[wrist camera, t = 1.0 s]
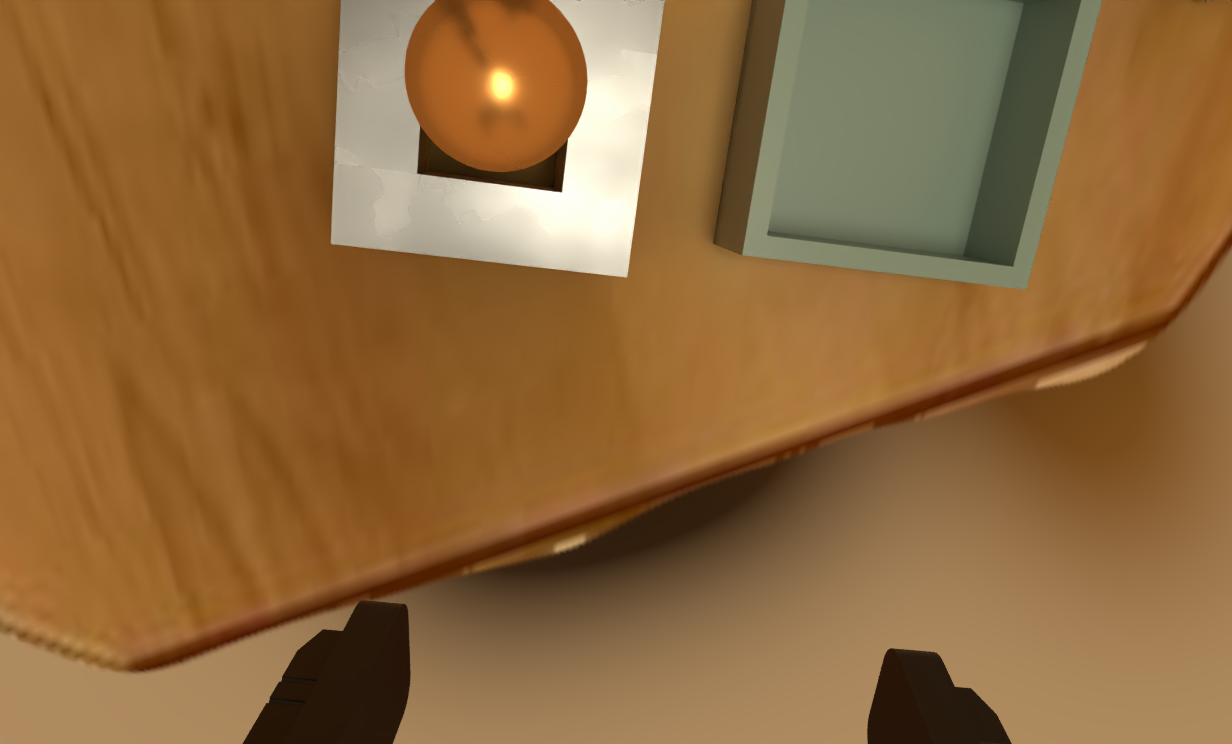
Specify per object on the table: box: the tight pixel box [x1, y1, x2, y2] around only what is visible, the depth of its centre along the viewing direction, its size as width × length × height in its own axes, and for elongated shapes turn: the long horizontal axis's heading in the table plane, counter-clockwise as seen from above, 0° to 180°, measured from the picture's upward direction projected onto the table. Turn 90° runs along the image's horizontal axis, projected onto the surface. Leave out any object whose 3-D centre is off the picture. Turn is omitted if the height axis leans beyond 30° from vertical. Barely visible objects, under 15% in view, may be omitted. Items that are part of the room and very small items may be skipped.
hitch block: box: [331, 0, 664, 277], centre depth 28 cm, size 10×10×4 cm
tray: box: [714, 0, 1102, 289], centre depth 30 cm, size 12×12×4 cm
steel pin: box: [405, 0, 588, 172], centre depth 23 cm, size 4×4×15 cm
